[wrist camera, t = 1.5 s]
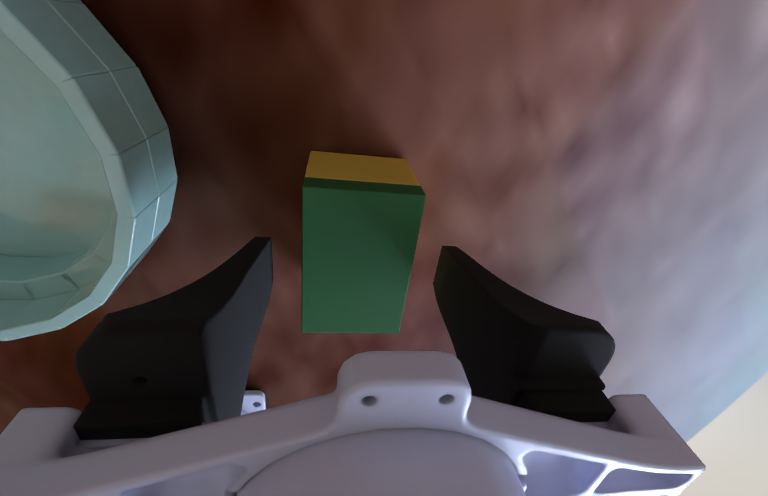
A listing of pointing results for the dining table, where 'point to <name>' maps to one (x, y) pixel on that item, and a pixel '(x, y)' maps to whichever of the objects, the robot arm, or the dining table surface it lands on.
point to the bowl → (73, 166)
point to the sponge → (357, 242)
